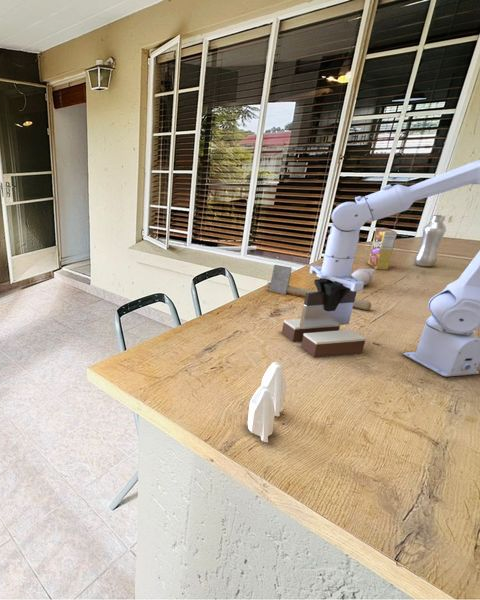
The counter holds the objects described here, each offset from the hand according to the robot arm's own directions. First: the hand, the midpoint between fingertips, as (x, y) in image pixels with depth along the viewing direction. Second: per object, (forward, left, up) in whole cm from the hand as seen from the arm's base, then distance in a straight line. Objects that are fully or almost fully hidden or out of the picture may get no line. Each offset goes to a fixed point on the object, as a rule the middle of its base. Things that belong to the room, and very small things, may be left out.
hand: (327, 309), depth 86 cm
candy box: (+55, -65, -10) cm, 86 cm away
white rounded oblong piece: (+37, -43, -10) cm, 58 cm away
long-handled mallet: (+27, -18, -10) cm, 34 cm away
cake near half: (-4, 0, -9) cm, 10 cm away
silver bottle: (+52, -82, -10) cm, 98 cm away
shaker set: (-26, +29, -10) cm, 40 cm away
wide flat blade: (0, 0, -4) cm, 4 cm away
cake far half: (+4, 0, -9) cm, 10 cm away
